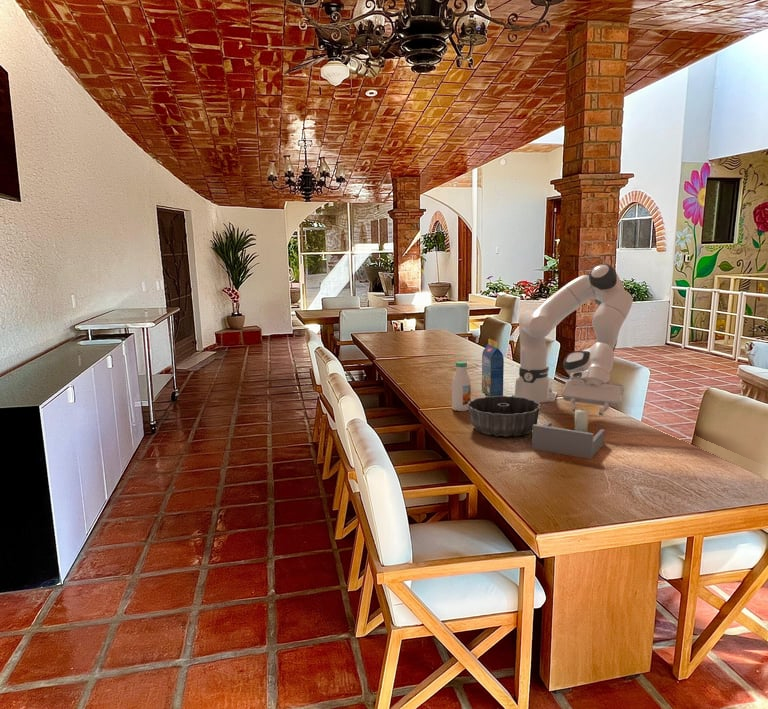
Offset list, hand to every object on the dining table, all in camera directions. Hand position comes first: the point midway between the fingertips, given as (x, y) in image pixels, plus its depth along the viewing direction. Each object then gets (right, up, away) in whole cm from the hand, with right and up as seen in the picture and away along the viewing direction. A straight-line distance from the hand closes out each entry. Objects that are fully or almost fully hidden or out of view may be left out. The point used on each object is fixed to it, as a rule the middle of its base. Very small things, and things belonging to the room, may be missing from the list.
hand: (587, 412), depth 200 cm
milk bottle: (-40, -2, +35) cm, 53 cm away
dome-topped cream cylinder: (-2, -8, +1) cm, 8 cm away
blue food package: (-22, +2, +59) cm, 63 cm away
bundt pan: (-28, -7, +7) cm, 30 cm away
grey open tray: (-10, -10, -11) cm, 18 cm away
